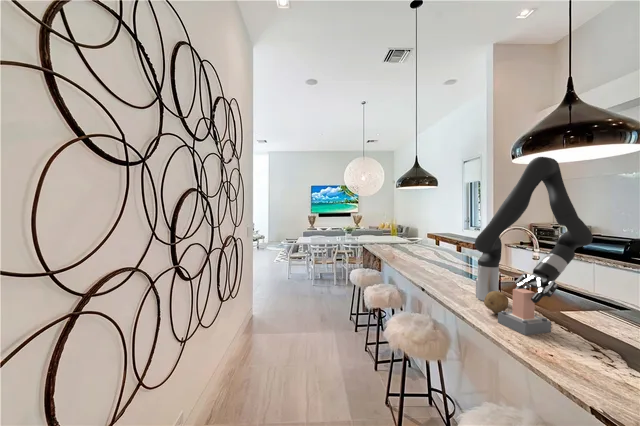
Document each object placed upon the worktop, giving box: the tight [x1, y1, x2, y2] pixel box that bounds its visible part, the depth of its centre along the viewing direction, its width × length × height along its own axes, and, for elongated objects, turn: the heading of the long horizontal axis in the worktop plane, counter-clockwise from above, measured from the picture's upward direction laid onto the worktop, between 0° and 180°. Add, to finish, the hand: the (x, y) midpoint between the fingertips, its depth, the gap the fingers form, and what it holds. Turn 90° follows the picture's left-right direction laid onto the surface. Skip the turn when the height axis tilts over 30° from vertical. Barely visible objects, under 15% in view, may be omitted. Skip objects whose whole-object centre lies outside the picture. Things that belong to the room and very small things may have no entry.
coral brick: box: [511, 288, 536, 319], centre depth 112 cm, size 5×5×10 cm
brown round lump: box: [483, 290, 510, 315], centre depth 126 cm, size 9×9×10 cm
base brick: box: [497, 310, 552, 336], centre depth 112 cm, size 12×12×5 cm
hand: (523, 297), depth 112 cm, fingers open, 8 cm apart
